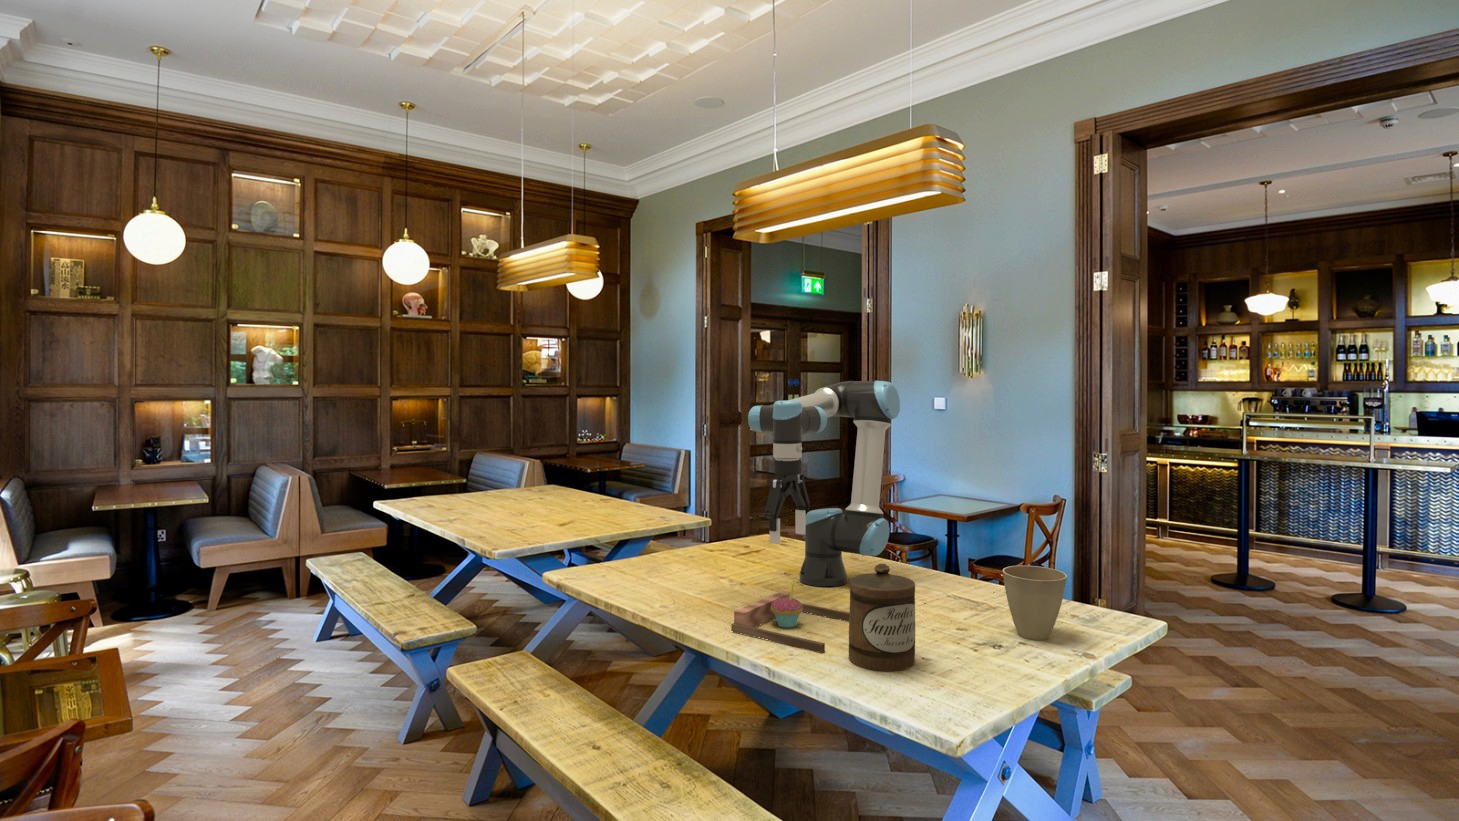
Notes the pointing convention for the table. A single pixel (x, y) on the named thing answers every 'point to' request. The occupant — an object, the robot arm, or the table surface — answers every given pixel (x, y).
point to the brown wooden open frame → (762, 613)
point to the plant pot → (1034, 599)
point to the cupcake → (787, 610)
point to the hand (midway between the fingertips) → (788, 538)
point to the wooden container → (882, 620)
